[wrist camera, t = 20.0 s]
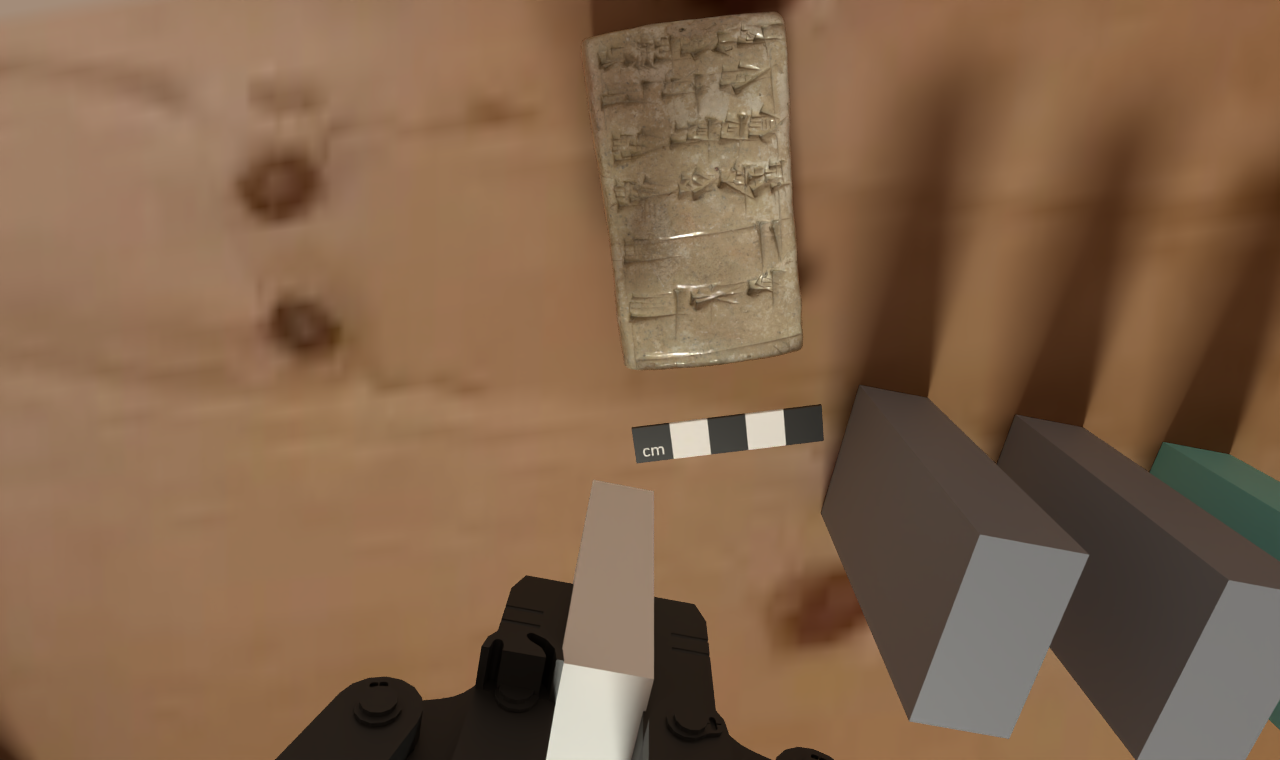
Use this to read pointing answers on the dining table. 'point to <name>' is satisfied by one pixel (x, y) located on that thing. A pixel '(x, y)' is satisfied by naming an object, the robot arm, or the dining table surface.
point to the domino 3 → (1226, 496)
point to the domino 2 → (1155, 600)
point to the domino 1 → (946, 563)
